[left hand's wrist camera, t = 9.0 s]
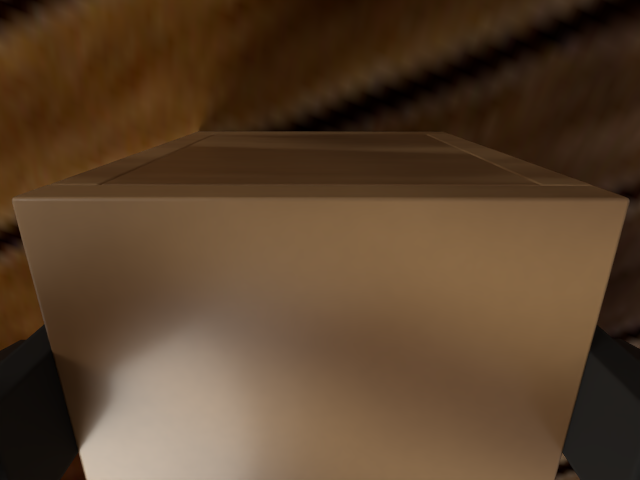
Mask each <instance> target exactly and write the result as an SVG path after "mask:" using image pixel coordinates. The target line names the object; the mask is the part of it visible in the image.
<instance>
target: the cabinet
mask: <svg viewBox="0 0 640 480" xmlns="http://www.w3.org/2000/svg"><path fill="white" fill-rule="evenodd" d="M12 203H13V207H14V211H15V214H16V218H17V222H18V226H19V230H20V233H21V237H22V241H23V245H24V248H25V252H26V256H27V260H28V263H29V267H30V271H31V275H32V278H33V282H34V286H35V290H36V293H37V297H38V301H39V305H40V309H41V312H42V316H43V320H44V324H45V327H46V331H47V335H48V339H49V342H50V346H51V350H52V354H53V357H54V361H55V365H56V369H57V372H58V376H59V380H60V384H61V387H62V391H63V395H64V399H65V403H66V406H67V410H68V414H69V418H70V421H71V425H72V429H73V433H74V436H75V440H76V444H77V448H78V451H79V455H80V459H81V463H82V466H83V470H84V474H85V478H86V480H555V477H556V473H557V470H558V466H559V462H560V459H561V455H562V451H563V447H564V444H565V440H566V436H567V433H568V429H569V425H570V421H571V418H572V414H573V410H574V407H575V403H576V399H577V395H578V392H579V388H580V384H581V381H582V377H583V373H584V369H585V366H586V362H587V358H588V355H589V351H590V347H591V343H592V340H593V336H594V332H595V329H596V325H597V321H598V317H599V314H600V310H601V306H602V303H603V299H604V295H605V291H606V288H607V284H608V280H609V277H610V273H611V269H612V265H613V262H614V258H615V254H616V251H617V247H618V243H619V239H620V236H621V232H622V228H623V225H624V221H625V217H626V213H627V210H628V206H629V199H628V198H626V197H624V196H621V195H618V194H615V193H613V192H610V191H607V190H604V189H602V188H599V187H596V186H592V185H591V184H588V183H585V182H583V181H580V180H577V179H574V178H571V177H569V176H566V175H563V174H560V173H557V172H555V171H552V170H549V169H546V168H543V167H541V166H538V165H535V164H532V163H529V162H527V161H524V160H521V159H518V158H516V157H513V156H510V155H507V154H504V153H502V152H499V151H496V150H493V149H490V148H488V147H485V146H482V145H479V144H476V143H474V142H471V141H468V140H465V139H462V138H460V137H457V136H454V135H451V134H448V133H445V132H302V131H198V132H195V133H193V134H190V135H187V136H185V137H182V138H179V139H176V140H173V141H171V142H168V143H165V144H162V145H159V146H157V147H154V148H151V149H148V150H145V151H143V152H140V153H137V154H134V155H131V156H129V157H126V158H123V159H120V160H117V161H115V162H112V163H109V164H106V165H103V166H100V167H98V168H95V169H92V170H89V171H86V172H84V173H81V174H78V175H75V176H72V177H70V178H67V179H64V180H61V181H58V182H56V183H53V184H51V185H46V186H43V187H41V188H38V189H35V190H32V191H29V192H27V193H24V194H21V195H18V196H16V197H13V198H12Z"/></svg>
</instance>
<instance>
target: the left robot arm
mask: <svg viewBox="0 0 640 480" xmlns="http://www.w3.org/2000/svg"><path fill="white" fill-rule="evenodd" d="M78 452H79V451H78V448H77V444H76V440H75V436H74V433H73V429H72V425H71V421H70V418H69V414H68V410H67V406H66V403H65V399H64V395H63V391H62V387H61V384H60V380H59V376H58V372H57V369H56V365H55V361H54V357H53V354H52V350H51V346H50V342H49V339H48V335H47V331H46V327H45V324H44V325H43V326H42V327H41V328H40V329H38V330H37V331H36V332H35V333H34V334H33V335H31V336H30V337H29V338H28V339H27V340H20V341H18V342H16V343H14V344H12V345H10V346H9V347H7V348H5V349H3V350H1V351H0V480H60V479H61V477H62V476H63V474H64V473H65V471H66V470H67V468H68V467H69V465H70V464H71V462H72V461H73V459H74V458H75V456H76V455H77V453H78ZM562 453H563V454H564V456H565V457H566V459H567V460H568V462H569V463H570V465H571V466H572V468H573V469H574V471H575V472H576V474H577V475H578V477H579V478H580V480H640V349H639V348H637V347H635V346H633V345H631V344H629V343H628V342H626V341H624V340H622V339H613V338H611V337H610V336H609V335H608V334H607V333H606V332H604V331H603V330H602V329H601V328H600V327H599V326H598V325H596V329H595V332H594V336H593V340H592V343H591V347H590V351H589V355H588V358H587V362H586V366H585V369H584V373H583V377H582V381H581V384H580V388H579V392H578V395H577V399H576V403H575V407H574V410H573V414H572V418H571V421H570V425H569V429H568V433H567V436H566V440H565V444H564V447H563V451H562Z"/></svg>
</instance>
